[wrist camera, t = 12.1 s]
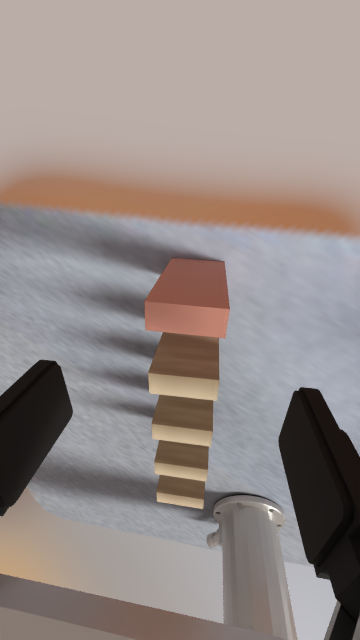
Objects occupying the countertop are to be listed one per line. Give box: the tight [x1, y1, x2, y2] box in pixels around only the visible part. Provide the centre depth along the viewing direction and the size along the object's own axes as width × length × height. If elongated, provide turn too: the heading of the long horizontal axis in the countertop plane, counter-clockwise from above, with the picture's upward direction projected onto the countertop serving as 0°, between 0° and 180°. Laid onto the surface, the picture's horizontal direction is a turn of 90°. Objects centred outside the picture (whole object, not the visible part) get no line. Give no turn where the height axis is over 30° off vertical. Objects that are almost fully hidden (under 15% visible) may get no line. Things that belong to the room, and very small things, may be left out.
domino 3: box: [152, 395, 213, 447], centre depth 24 cm, size 2×5×10 cm, turn 89°
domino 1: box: [144, 258, 230, 338], centre depth 19 cm, size 2×5×10 cm, turn 88°
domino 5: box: [156, 475, 205, 509], centre depth 29 cm, size 2×5×10 cm, turn 89°
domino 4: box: [154, 440, 209, 481], centre depth 27 cm, size 2×5×10 cm, turn 89°
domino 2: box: [148, 332, 219, 401], centre depth 21 cm, size 2×5×10 cm, turn 89°
